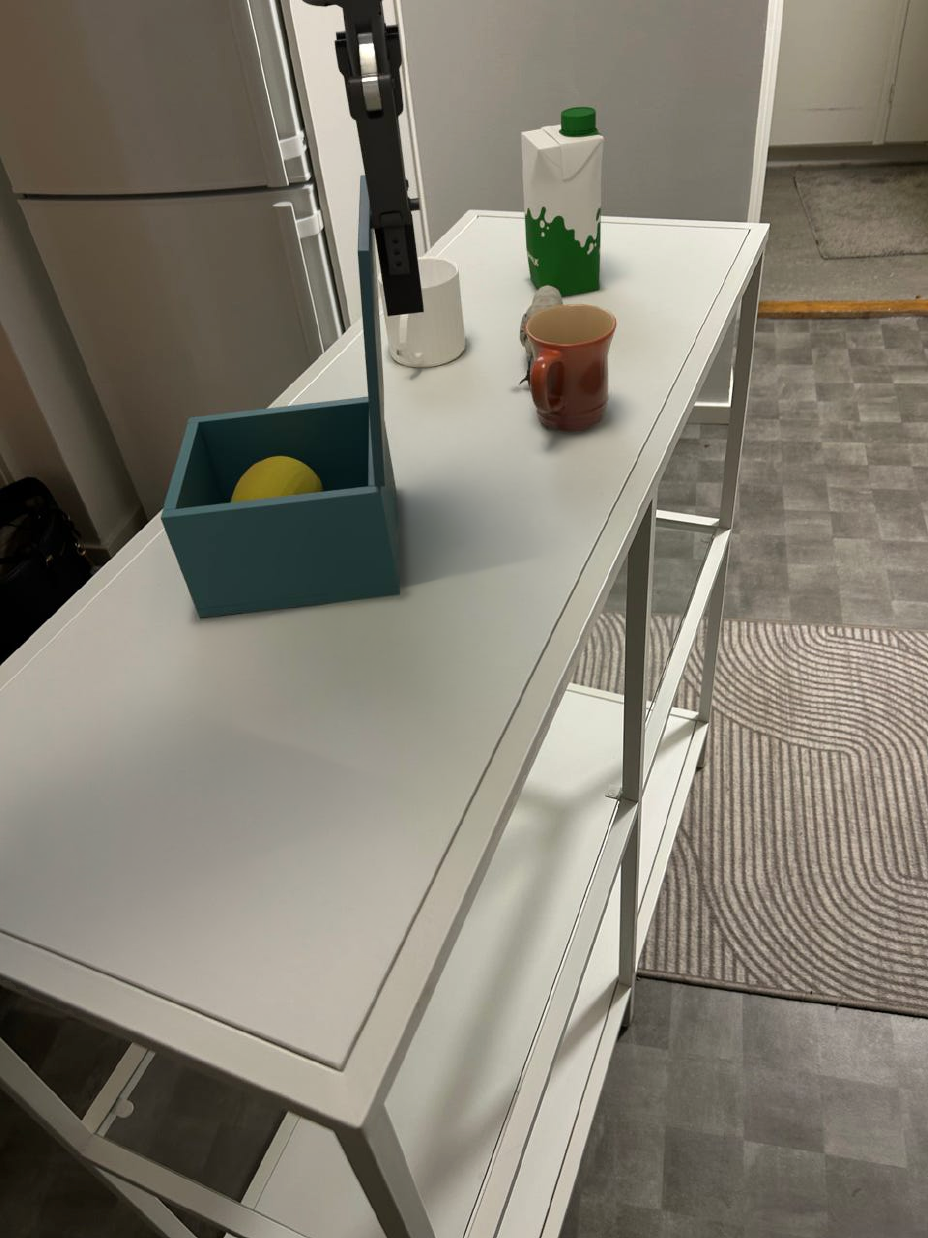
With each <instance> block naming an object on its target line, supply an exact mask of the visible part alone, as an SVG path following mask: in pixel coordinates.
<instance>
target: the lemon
mask: <svg viewBox="0 0 928 1238" xmlns="http://www.w3.org/2000/svg"><path fill="white" fill-rule="evenodd" d="M317 492H324V490H323V486H322V483H321V481H320V479H319V478H318V476H317V475H316V474H315V473H314V471H313V470H312V469H310V468H309V467H308V466H307V465H305V464H304V463H302V462H300V461H298V460H296V459H293V458H290V457H285V456H275V457H270V458H267V459H264V460H262V461H260V462H258V463H256V464H254V465H253V466H252V467H251V468H250V469H249V470H248V471H247V472H246V473H245V474H244V475H243V476H242V477H241V478H240V480H239V482H238V483H237V485H236V488H235V490H234V493H233V495H232V499H231V503H232V502H240V501H249V500H257V499H266V498H274V497H283V496H291V495H300V494H308V493H317Z"/></svg>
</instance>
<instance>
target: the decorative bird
mask: <svg viewBox="0 0 928 1238" xmlns="http://www.w3.org/2000/svg"><path fill="white" fill-rule="evenodd" d="M563 302H564V301H563V297H561V295H560V293H559V291H558V290H557V289H556V288H554V287H552V286H548V285H547V286H543V287H541V288H540V289H538V288H537V290H536V292H535V293H534V294H533V298H532V301H531V305H530V306H529V307H528V308H527V310H526V311H525V313H524V314H523V315H522V318H521V322H520V326H519V341H520V344H521V346H522V347H523V348H524V349H525V354H526V361H527V369H526V375H525V377H524V378H522V379H521V381H520V382H519V384H518V386H521V385H522V383H524V382H527V385H528V388H529V389H531V387H530V375H531V370H532V365H531V364H532V360H533V361H534V356H533V352H532V348H531V345H530V342H529V340H528V337H527V335H526V332H525V324H526V322H527V321H528V319H529V318H530V317H531V316H533V315H534V314H536V313H537V312H539V311H541V310H544V309H547V308H550V307H554V306H559V305H564V303H563Z"/></svg>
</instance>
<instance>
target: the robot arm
mask: <svg viewBox="0 0 928 1238" xmlns="http://www.w3.org/2000/svg"><path fill="white" fill-rule="evenodd" d="M301 1H302V2H303V3H305V4H307V5H310V6H312V7H313V6H314V7H321V8H322V7H323V8H327V7H331V6H338V7H339V8H341V9H342V15H343V26H344V30H340V31H335V39H336V40H334V50H335V56H336V62H337V63H336V64H337V69H338V71H339V73H340V74H341V75H342V77H343V80H344V87H345V93H346V100H347V106H348V112H349V116H350V118H351V120H354V121H355V124H356V130H357V135H358V136H357V137H358V143H359V147H360V155H361V160H362V165H363V171H364V175H365V178H366V184H367V190H368V195H369V201H370V207H371V215H370V218H371V229H374V233H375V245H376V249H377V250H376V252H377V257H378V264H379V270H380V272H381V277H382V283H383V290H384V296H385V303H386V309H387V316H395V315H404V314H412V313H421V312H424V306H423V297H422V289H421V282H420V274H419V266H418V258H417V257H418V251H417V243H416V236H415V235H416V234H415V227H414V220H413V214H412V212H414V211H420V210H421V206H420V198H419V197H414V198H411V197H409V194H408V192H409V188H410V185H409V179H408V178H407V177H406V167H405V161H404V153H403V145H402V136H401V135H402V134H401V126H400V120H399V117H400V116H401V115H402V113H403V112H404V96H403V88H402V87H403V85H402V79H401V71H400V69H401V67H402V65H403V55H402V46H401V39H400V29H399V24H389V25H387V23H386V22H385V21H386V20H385V12H384V6H383V1H384V0H301Z"/></svg>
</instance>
